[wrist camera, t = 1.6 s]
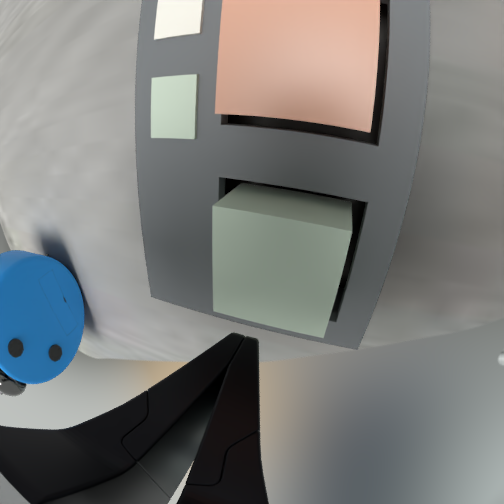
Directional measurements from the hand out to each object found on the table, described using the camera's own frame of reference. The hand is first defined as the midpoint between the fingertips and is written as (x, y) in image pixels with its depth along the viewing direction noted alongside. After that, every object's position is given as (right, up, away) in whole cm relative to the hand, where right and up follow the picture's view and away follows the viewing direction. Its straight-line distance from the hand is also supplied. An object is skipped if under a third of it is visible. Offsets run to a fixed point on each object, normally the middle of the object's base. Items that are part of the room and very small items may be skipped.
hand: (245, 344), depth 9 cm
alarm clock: (-21, -1, +20) cm, 29 cm away
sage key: (+2, +3, +6) cm, 7 cm away
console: (+2, +13, +4) cm, 13 cm away
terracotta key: (+3, +11, +2) cm, 12 cm away
